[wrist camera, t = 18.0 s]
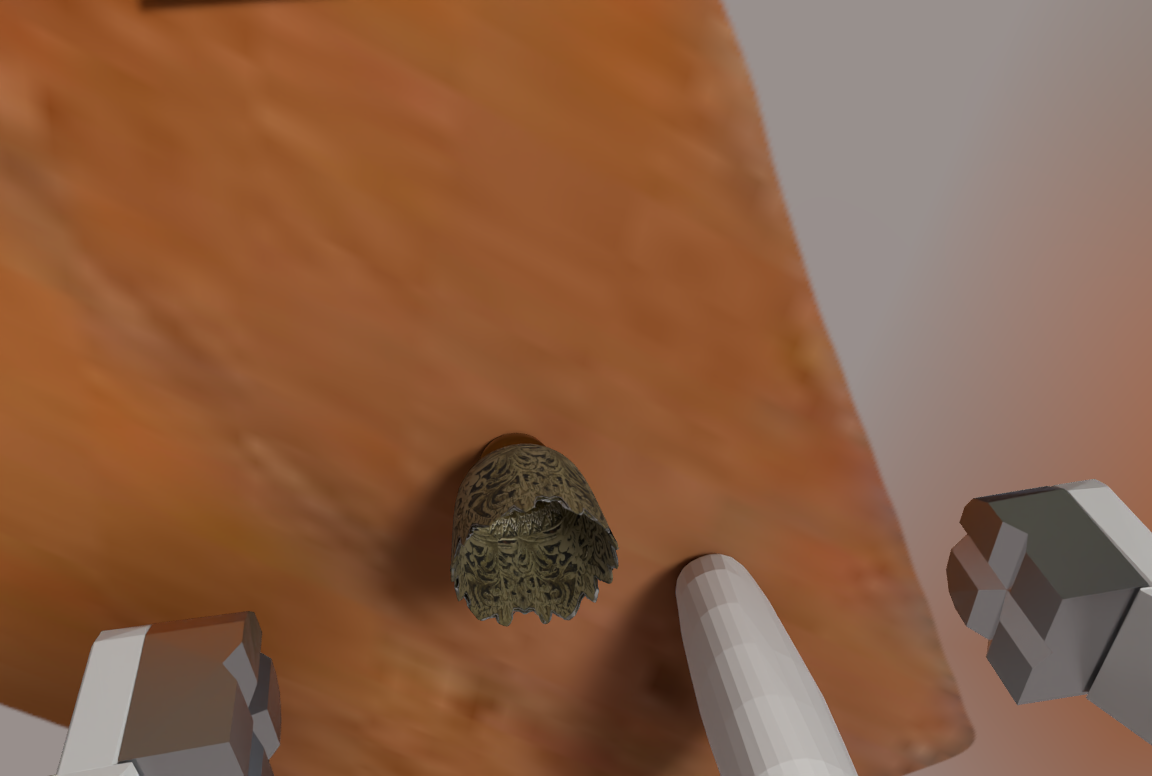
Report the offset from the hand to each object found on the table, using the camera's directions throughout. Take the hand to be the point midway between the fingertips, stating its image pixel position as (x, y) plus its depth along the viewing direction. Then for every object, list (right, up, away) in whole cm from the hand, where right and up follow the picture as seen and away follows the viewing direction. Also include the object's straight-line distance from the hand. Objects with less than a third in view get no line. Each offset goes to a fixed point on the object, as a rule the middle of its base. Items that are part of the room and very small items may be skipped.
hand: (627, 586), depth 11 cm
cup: (-4, -1, +37) cm, 37 cm away
